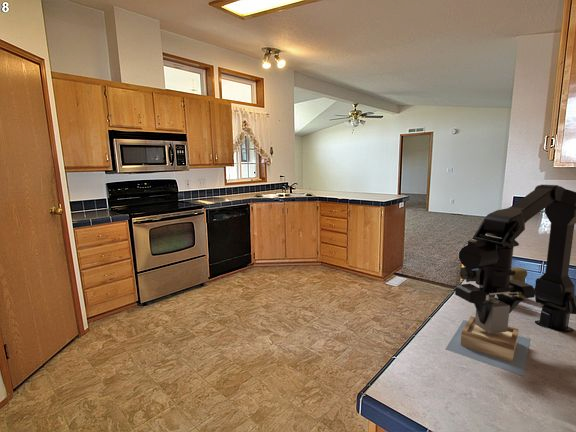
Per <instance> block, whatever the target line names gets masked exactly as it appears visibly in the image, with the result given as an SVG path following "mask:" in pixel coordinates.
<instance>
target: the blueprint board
mask: <svg viewBox="0 0 576 432" xmlns="http://www.w3.org/2000/svg"><path fill="white" fill-rule="evenodd" d="M467 322H468V320H464V319H463V320H462V321H461V323H460V325H459V326H458V329H457V330H456V332H455V333H454V335H453V336H452V338H451V339H450V341H449V342H448V344H447V346H446V347H445V350H446V351H450V352H451V353H452V352H453V353H456V354H458V355H461V356H464V357H467V358H469V359H473V360H475V361H478V362H481V363H484V364H487V365H490V366H493V367H495V368H499V369H501V370H503V371H507V372H510V373H512V374H515V375H518V376H522V377H524V375H525V371H526V367H527V359H528V355H529V354H528V353H529V347H530V343H531V338H528V337H525V336H521V335H518V339H517V345H516V349H515V353H514V357H513V361H512V362H510V361H507V360H504V359H501V358H498V357H495V356H492V355H489V354H486V353H483V352H480V351H477V350H474V349H471V348H468V347H465V346H462V345H460V344H461V334H462V330H463V328H464V327H465V325H466V323H467Z"/></svg>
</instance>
